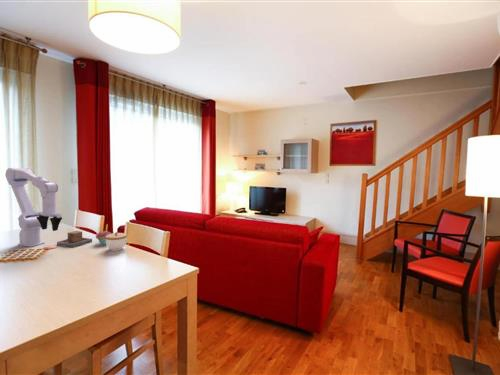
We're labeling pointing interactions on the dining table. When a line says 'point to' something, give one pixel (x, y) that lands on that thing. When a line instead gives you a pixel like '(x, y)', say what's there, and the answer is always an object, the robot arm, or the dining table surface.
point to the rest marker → (50, 247)
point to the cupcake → (102, 236)
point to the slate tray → (65, 243)
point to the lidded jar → (116, 241)
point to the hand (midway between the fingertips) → (49, 229)
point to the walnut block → (74, 237)
